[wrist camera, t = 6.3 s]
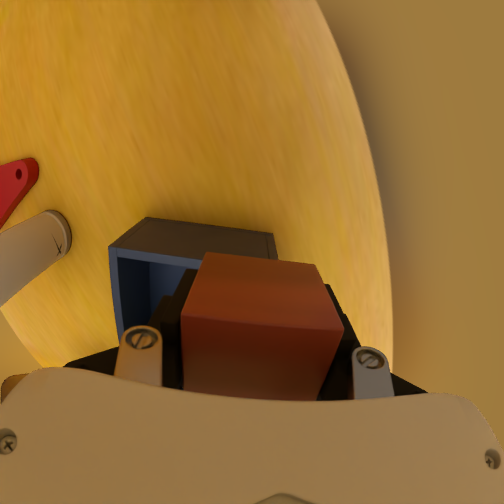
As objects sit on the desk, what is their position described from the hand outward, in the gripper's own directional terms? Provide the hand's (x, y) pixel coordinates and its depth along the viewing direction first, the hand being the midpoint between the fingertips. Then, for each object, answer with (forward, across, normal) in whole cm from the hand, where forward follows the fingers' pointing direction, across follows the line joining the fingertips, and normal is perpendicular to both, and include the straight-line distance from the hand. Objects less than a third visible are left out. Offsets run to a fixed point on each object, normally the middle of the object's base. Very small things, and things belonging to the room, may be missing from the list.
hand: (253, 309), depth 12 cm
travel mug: (+18, +25, +5) cm, 31 cm away
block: (0, 0, 0) cm, 0 cm away
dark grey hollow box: (+18, +5, +9) cm, 20 cm away
